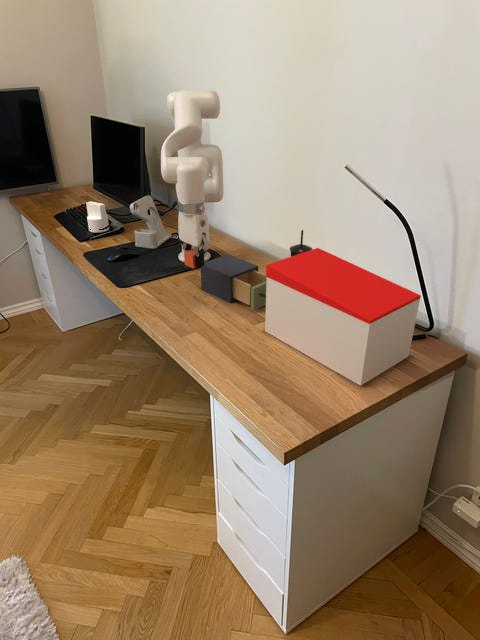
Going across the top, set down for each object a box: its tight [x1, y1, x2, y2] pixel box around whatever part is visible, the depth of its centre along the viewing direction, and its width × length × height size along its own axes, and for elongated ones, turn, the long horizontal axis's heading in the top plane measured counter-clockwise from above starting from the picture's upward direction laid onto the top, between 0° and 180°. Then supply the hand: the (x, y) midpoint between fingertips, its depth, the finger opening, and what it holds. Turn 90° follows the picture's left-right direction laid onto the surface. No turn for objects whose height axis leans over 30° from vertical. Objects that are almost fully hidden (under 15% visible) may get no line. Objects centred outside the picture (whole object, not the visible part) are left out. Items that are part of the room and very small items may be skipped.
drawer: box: [232, 270, 267, 311], centre depth 157 cm, size 19×12×7 cm, turn 44°
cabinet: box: [200, 253, 259, 304], centre depth 165 cm, size 15×13×9 cm
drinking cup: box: [289, 229, 314, 257], centre depth 166 cm, size 8×8×20 cm
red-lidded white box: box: [264, 247, 422, 387], centre depth 132 cm, size 21×35×21 cm, turn 40°
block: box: [184, 248, 197, 269], centre depth 151 cm, size 4×4×4 cm
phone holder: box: [129, 194, 172, 249], centre depth 206 cm, size 17×10×18 cm, turn 162°
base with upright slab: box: [85, 201, 110, 234], centre depth 221 cm, size 9×9×12 cm
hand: (194, 263), depth 152 cm, fingers closed on block, 4 cm apart
